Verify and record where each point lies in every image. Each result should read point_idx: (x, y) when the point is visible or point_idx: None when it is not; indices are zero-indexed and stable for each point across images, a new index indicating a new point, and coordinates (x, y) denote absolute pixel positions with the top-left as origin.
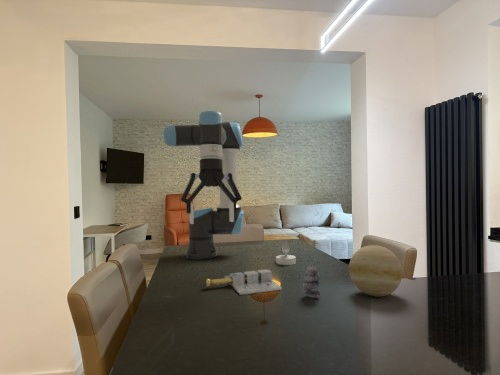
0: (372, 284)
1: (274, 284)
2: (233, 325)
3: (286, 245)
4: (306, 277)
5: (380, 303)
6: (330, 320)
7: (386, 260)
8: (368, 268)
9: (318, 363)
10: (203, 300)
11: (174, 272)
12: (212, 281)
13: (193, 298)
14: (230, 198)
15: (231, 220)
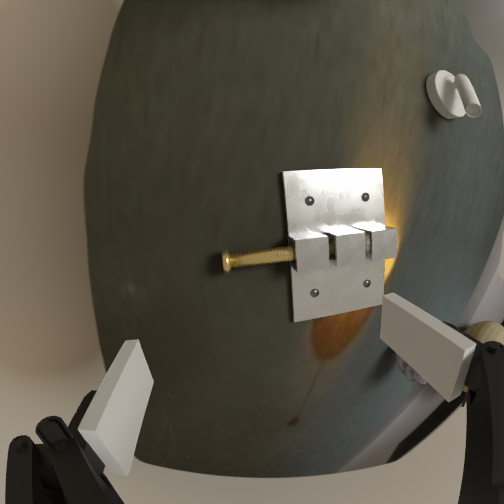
0: None
1: (378, 283)
2: (251, 426)
3: (475, 107)
4: (408, 375)
5: None
6: (369, 416)
7: None
8: (465, 390)
9: (306, 472)
10: (210, 334)
11: (143, 74)
12: (238, 267)
13: (188, 317)
14: (472, 404)
15: (384, 336)
